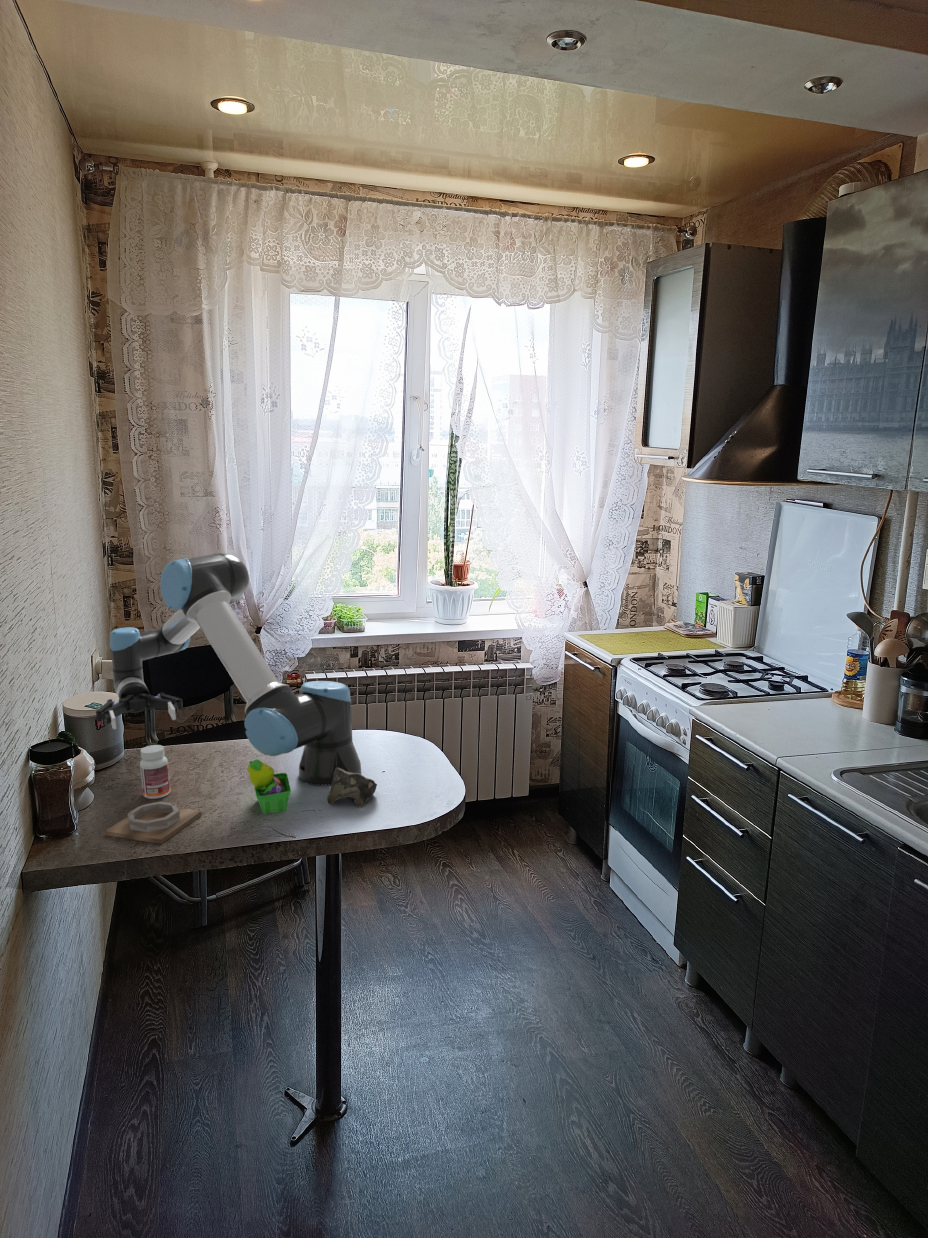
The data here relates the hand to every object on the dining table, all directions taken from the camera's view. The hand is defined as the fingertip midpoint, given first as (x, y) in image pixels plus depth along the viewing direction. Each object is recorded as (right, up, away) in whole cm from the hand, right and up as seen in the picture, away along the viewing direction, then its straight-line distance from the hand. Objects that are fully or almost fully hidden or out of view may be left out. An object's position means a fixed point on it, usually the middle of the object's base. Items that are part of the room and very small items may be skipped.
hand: (144, 719), depth 206 cm
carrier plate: (+10, -20, -21) cm, 31 cm away
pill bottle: (+5, -17, -5) cm, 19 cm away
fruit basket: (+33, -18, -12) cm, 40 cm away
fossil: (+52, -17, -9) cm, 55 cm away
